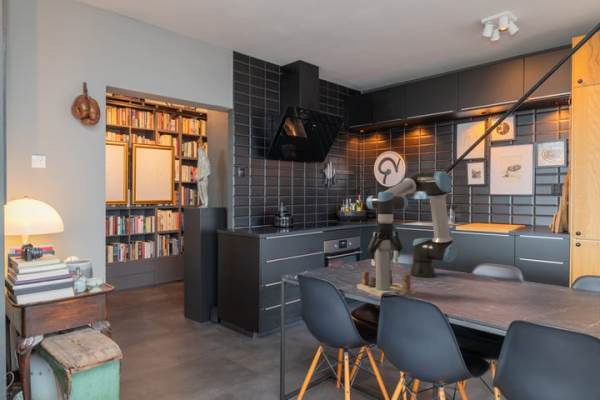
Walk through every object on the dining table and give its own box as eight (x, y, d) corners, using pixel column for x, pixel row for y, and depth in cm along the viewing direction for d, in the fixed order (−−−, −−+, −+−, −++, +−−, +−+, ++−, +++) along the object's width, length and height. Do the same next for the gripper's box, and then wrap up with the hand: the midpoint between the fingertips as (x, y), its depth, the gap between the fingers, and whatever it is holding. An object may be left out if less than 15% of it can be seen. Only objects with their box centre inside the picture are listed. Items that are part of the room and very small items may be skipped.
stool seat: (389, 284, 217) (389, 268, 217) (414, 293, 198) (415, 275, 198) (357, 287, 208) (357, 271, 208) (380, 297, 189) (381, 278, 189)
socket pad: (386, 286, 203) (386, 286, 203) (399, 291, 194) (399, 290, 194) (370, 288, 199) (370, 287, 199) (382, 293, 190) (382, 292, 190)
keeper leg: (368, 285, 204) (368, 277, 204) (389, 284, 208) (389, 275, 208) (371, 286, 201) (371, 278, 201) (392, 285, 205) (392, 276, 205)
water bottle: (373, 289, 195) (373, 239, 195) (378, 286, 202) (378, 238, 202) (391, 291, 191) (392, 240, 191) (395, 288, 198) (396, 239, 198)
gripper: (400, 221, 205) (400, 261, 205) (360, 222, 194) (359, 265, 194) (410, 222, 198) (409, 264, 198) (368, 223, 187) (368, 267, 188)
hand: (385, 264), depth 196 cm, fingers open, 13 cm apart
